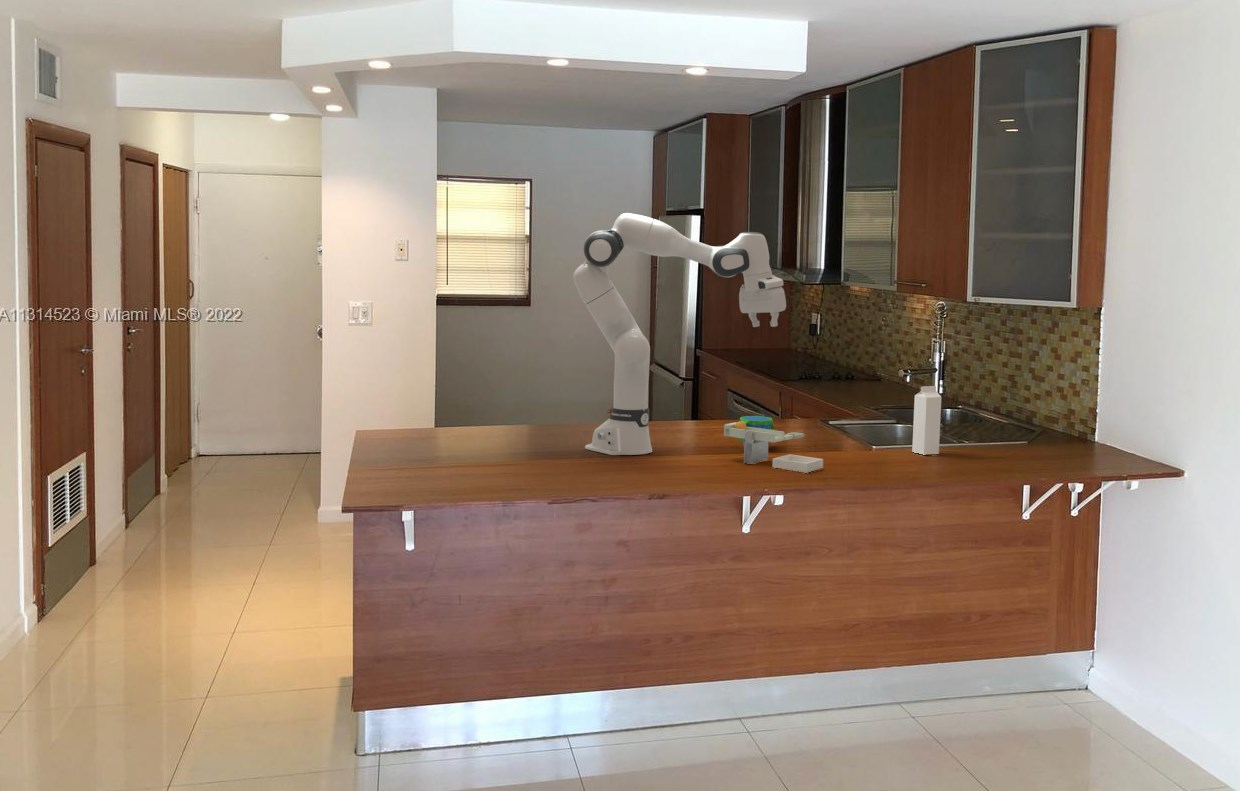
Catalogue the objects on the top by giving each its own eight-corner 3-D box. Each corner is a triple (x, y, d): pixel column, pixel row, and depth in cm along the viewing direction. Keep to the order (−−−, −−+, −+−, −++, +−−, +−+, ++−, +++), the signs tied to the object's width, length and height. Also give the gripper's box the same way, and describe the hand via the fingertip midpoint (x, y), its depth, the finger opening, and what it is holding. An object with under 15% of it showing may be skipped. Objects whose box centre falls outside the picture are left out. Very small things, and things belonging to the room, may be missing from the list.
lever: (723, 435, 340) (724, 424, 340) (751, 429, 352) (751, 418, 352) (778, 443, 328) (778, 431, 327) (804, 436, 340) (804, 425, 339)
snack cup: (762, 444, 369) (763, 414, 368) (784, 448, 361) (784, 418, 359) (726, 448, 361) (727, 417, 359) (747, 453, 352) (748, 422, 351)
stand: (743, 463, 335) (744, 432, 333) (759, 459, 342) (760, 428, 340) (752, 465, 333) (752, 433, 332) (767, 460, 340) (768, 429, 338)
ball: (732, 432, 340) (732, 421, 339) (738, 431, 342) (739, 420, 342) (742, 434, 337) (742, 422, 337) (748, 432, 340) (748, 421, 340)
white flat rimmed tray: (772, 468, 328) (772, 458, 328) (789, 463, 335) (789, 454, 335) (806, 473, 321) (806, 463, 320) (822, 468, 328) (823, 459, 328)
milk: (938, 455, 352) (942, 387, 349) (923, 456, 350) (927, 387, 347) (926, 451, 358) (930, 384, 355) (911, 453, 355) (915, 385, 352)
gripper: (731, 285, 351) (738, 328, 353) (769, 283, 333) (776, 328, 335) (747, 282, 354) (754, 324, 356) (786, 279, 336) (792, 324, 338)
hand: (765, 326), depth 345 cm, fingers open, 8 cm apart
